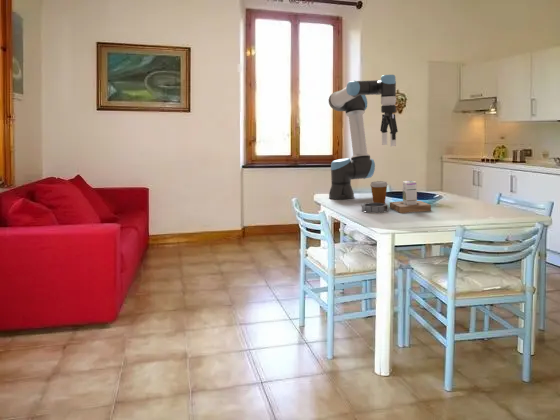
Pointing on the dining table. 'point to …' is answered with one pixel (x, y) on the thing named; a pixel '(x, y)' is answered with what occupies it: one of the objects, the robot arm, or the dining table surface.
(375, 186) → the disposable coffee cup
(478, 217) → the dining table surface
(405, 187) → the syrup box
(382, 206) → the metal ring
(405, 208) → the square socket
